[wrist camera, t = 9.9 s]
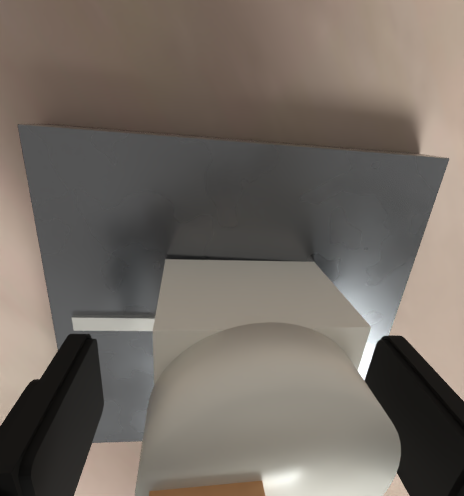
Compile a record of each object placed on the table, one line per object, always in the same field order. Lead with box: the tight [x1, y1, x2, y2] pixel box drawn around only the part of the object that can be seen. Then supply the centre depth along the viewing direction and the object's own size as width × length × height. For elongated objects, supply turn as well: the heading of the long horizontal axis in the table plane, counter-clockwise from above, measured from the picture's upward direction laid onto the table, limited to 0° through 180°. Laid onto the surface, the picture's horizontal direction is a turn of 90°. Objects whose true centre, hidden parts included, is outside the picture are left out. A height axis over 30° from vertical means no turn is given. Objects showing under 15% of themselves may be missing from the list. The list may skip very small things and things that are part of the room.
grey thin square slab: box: [18, 124, 449, 443], centre depth 11 cm, size 14×14×5 cm
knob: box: [135, 259, 401, 496], centre depth 9 cm, size 6×6×6 cm
